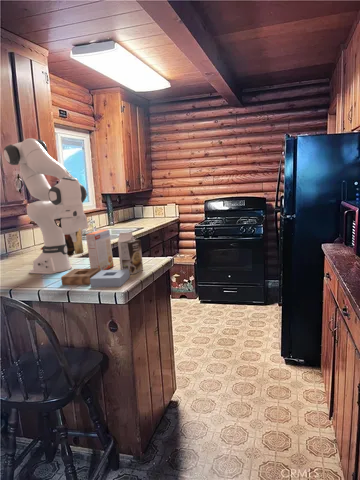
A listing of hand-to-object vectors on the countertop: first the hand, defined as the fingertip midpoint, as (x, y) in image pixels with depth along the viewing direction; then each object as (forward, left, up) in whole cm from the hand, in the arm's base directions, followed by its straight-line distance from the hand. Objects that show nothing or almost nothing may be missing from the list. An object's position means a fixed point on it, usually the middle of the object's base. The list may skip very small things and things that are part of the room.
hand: (77, 240), depth 167 cm
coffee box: (+22, +13, -20) cm, 32 cm away
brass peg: (0, 0, -6) cm, 6 cm away
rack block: (0, 0, -20) cm, 20 cm away
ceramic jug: (-39, +60, -20) cm, 74 cm away
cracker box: (+3, +19, -20) cm, 28 cm away
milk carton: (+17, +22, -20) cm, 34 cm away
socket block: (+16, -4, -20) cm, 26 cm away
